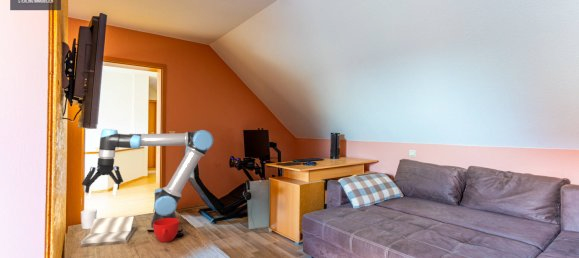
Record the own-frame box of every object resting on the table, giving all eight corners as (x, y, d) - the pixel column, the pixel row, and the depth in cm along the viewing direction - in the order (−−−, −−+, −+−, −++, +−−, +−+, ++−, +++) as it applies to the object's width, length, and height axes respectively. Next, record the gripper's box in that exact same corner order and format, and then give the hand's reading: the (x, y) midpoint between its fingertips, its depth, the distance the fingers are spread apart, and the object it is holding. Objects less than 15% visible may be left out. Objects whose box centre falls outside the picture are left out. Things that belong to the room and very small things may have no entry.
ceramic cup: (149, 248, 146) (149, 228, 146) (155, 236, 162) (155, 218, 162) (176, 246, 150) (177, 227, 150) (180, 234, 166) (180, 217, 166)
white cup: (98, 224, 180) (98, 208, 180) (94, 229, 173) (94, 212, 173) (83, 225, 178) (83, 209, 178) (78, 230, 170) (78, 213, 170)
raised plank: (134, 218, 172) (133, 216, 171) (130, 232, 164) (130, 230, 163) (95, 220, 166) (94, 218, 165) (89, 235, 158) (89, 233, 157)
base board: (136, 229, 174) (136, 224, 174) (127, 243, 153) (127, 238, 153) (94, 232, 167) (94, 227, 167) (78, 247, 146) (78, 242, 146)
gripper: (124, 156, 170) (120, 193, 169) (77, 157, 148) (71, 198, 147) (132, 158, 166) (128, 195, 166) (84, 158, 145) (79, 201, 144)
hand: (101, 197), depth 157 cm, fingers open, 13 cm apart
